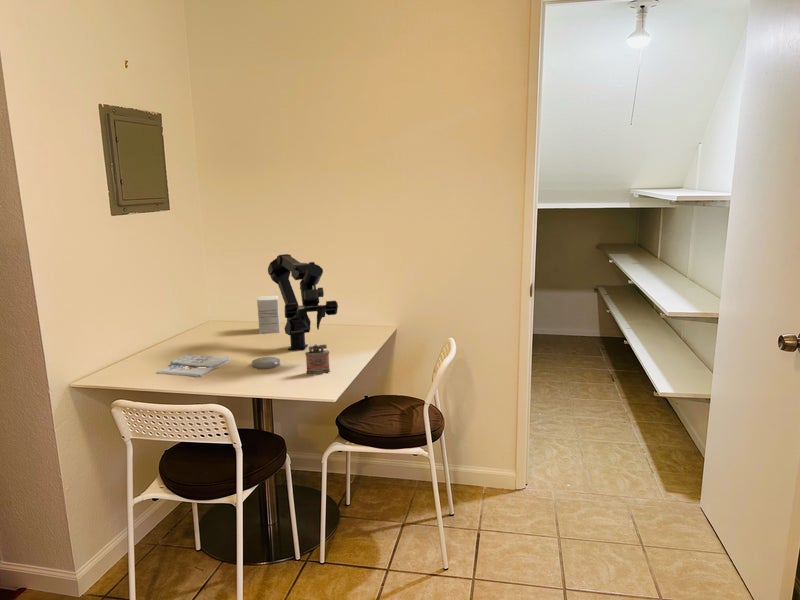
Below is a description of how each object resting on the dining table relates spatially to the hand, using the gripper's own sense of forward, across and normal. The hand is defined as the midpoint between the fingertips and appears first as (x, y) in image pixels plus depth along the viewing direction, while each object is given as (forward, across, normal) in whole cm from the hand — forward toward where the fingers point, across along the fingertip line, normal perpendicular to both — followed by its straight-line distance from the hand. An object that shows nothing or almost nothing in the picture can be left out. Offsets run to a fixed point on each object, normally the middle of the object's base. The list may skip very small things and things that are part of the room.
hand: (313, 329), depth 211 cm
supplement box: (-31, -13, +51) cm, 61 cm away
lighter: (+15, 0, +4) cm, 16 cm away
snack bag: (+1, -42, +20) cm, 47 cm away
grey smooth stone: (+5, -17, +15) cm, 23 cm away
